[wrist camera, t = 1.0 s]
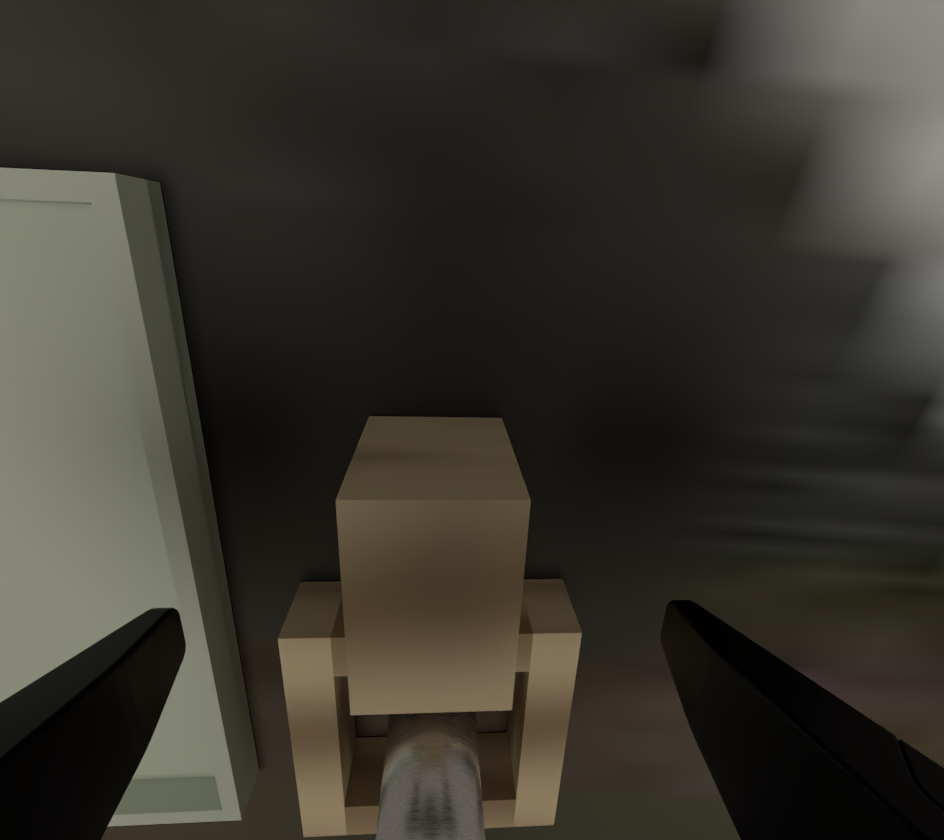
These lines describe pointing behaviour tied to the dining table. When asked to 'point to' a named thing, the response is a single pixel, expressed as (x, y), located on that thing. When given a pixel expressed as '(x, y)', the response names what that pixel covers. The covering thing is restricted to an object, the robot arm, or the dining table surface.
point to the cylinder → (431, 778)
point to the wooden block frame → (429, 625)
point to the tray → (112, 476)
